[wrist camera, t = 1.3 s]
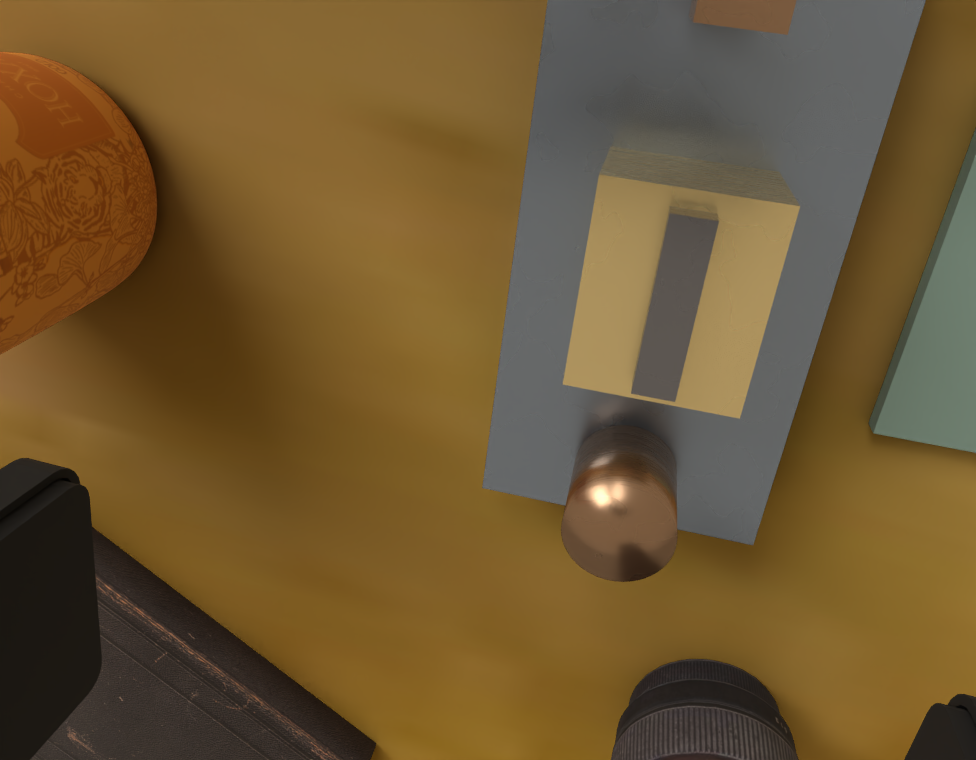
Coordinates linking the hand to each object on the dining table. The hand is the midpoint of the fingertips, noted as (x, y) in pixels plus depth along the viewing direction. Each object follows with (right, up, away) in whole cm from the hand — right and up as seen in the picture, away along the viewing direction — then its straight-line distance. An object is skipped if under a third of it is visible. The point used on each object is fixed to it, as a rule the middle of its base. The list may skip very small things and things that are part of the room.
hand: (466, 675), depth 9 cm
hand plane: (+7, +9, +20) cm, 23 cm away
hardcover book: (-19, -13, +37) cm, 43 cm away
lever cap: (+6, +7, +17) cm, 19 cm away
